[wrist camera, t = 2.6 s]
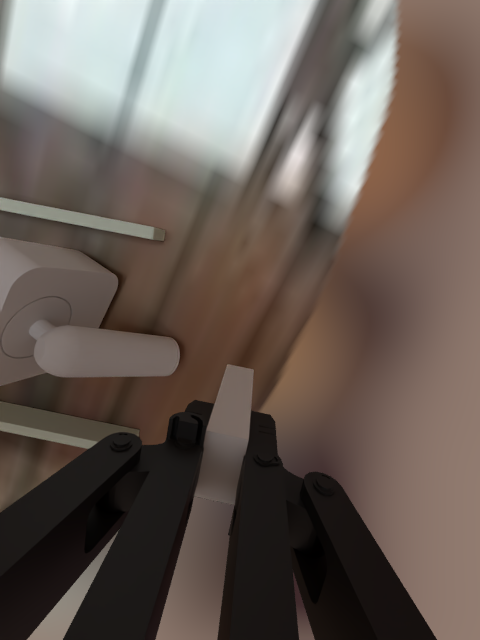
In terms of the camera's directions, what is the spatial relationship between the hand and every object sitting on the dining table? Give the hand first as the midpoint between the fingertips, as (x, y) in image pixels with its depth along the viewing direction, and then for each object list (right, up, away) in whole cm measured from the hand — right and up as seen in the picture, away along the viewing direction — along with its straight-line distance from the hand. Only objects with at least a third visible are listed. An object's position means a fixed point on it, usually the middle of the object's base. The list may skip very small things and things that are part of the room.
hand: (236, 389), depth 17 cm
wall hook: (-10, +4, +8) cm, 13 cm away
